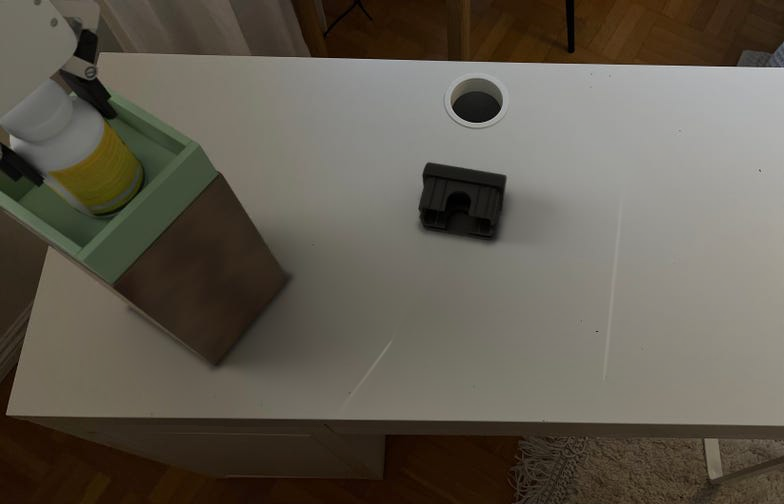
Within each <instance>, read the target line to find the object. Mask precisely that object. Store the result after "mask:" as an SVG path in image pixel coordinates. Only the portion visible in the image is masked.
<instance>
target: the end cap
mask: <svg viewBox="0 0 784 504" xmlns="http://www.w3.org/2000/svg"><path fill="white" fill-rule="evenodd" d="M421 176H422V186H423V188H422V191H421V196H420V199H419V204H418V208H417V209H418V211H419V216H418V218H419V219H420V222H421V224H422V228H423V229H425V230H427V231H433V232H438V233H445V234H451V235H457V236H463V237H469V238H474V239H481V240H486V241H491V240H492V239H493V238H494V233H495V232H496V230H497V225H498V218H499V213H500V212H502V211H503V206H504V201H505V200H504V199H505V194H506V193H505V192H506V186H507V179H508V177H507V175H506V174H502V173H497V172H490V171H484V170H479V169H472V168H467V167H462V166H455V165H449V164H443V163H437V162H430V161H429V162H426V164H425V165H424V168H423V170H422V174H421Z"/></svg>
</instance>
